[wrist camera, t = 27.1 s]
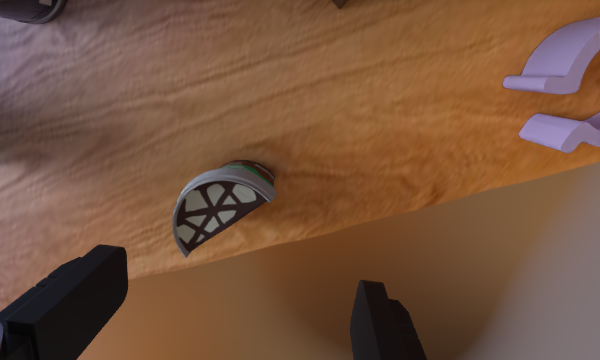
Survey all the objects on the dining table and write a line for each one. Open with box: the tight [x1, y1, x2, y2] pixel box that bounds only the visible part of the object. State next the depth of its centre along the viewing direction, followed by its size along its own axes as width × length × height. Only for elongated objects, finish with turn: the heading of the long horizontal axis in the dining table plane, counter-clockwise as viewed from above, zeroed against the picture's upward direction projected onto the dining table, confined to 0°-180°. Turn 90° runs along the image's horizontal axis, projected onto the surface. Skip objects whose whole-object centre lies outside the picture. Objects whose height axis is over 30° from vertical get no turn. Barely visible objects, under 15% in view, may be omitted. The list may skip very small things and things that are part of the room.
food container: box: [172, 160, 277, 258], centre depth 37 cm, size 12×6×10 cm, turn 125°
